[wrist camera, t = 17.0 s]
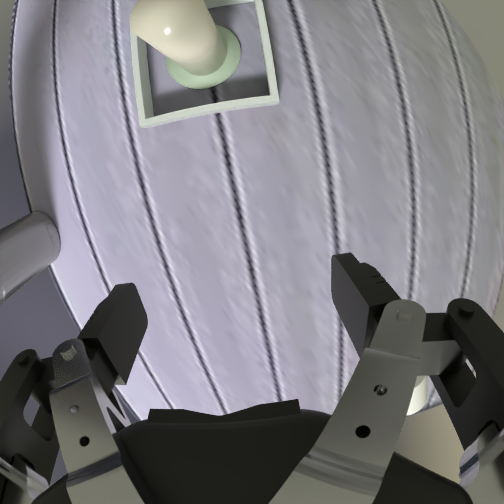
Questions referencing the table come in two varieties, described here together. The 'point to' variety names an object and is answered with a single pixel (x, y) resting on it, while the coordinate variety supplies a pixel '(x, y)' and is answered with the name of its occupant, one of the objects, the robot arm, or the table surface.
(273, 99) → the square picture frame
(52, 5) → the table surface
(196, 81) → the pad
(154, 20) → the canister
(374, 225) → the table surface
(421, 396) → the mug
